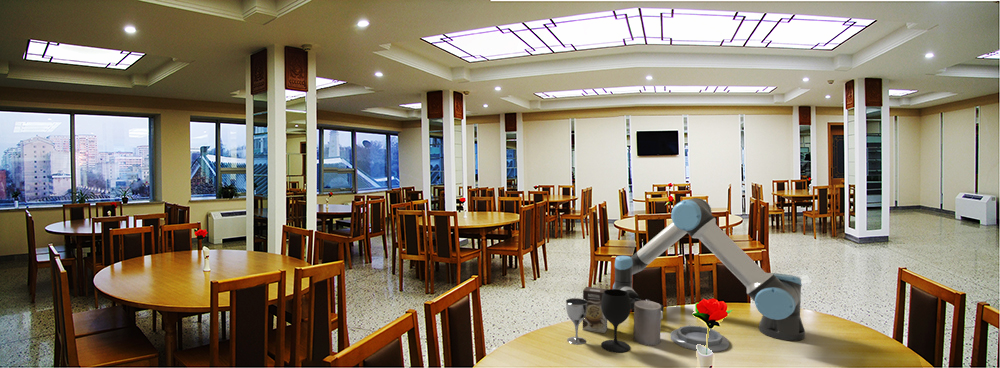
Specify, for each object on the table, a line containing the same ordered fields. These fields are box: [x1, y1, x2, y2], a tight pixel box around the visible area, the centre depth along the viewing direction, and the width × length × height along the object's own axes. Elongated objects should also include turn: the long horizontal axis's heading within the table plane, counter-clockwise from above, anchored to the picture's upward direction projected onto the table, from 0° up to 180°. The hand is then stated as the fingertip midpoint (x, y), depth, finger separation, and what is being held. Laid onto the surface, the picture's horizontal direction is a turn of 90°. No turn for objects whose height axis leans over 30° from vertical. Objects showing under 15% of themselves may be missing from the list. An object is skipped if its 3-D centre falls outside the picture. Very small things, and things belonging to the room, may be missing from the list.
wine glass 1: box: [565, 297, 588, 346], centre depth 168 cm, size 8×8×15 cm
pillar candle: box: [633, 300, 662, 346], centre depth 168 cm, size 10×10×15 cm
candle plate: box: [670, 324, 730, 353], centre depth 168 cm, size 20×20×3 cm
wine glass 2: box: [600, 288, 632, 354], centre depth 162 cm, size 10×10×20 cm
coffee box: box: [582, 286, 608, 334], centre depth 179 cm, size 9×6×16 cm
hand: (643, 315), depth 171 cm, fingers open, 13 cm apart
